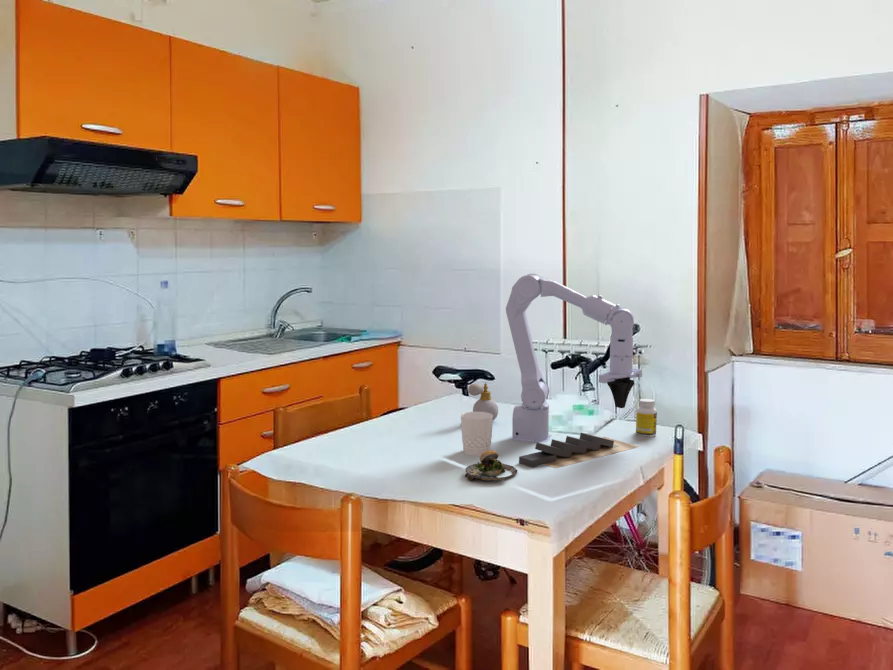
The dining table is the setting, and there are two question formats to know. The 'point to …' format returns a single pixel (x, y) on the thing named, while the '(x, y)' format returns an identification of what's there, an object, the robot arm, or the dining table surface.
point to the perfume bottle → (483, 400)
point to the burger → (488, 467)
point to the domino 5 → (596, 439)
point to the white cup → (476, 432)
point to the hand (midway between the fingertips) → (620, 407)
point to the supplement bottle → (646, 418)
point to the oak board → (591, 453)
